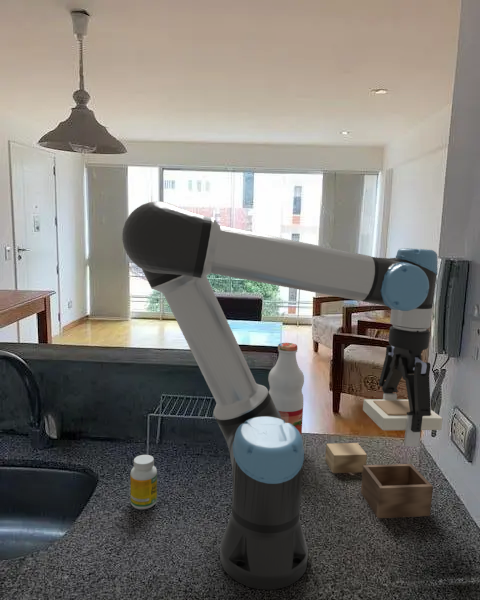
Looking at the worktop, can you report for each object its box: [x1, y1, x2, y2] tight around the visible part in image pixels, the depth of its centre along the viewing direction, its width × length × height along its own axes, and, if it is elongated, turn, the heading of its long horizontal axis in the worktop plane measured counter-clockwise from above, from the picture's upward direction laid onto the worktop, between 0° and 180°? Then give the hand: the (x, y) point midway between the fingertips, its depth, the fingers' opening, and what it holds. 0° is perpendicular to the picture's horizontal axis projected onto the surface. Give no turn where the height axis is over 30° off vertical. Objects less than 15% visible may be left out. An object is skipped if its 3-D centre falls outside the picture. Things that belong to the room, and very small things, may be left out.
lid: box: [362, 398, 443, 431], centre depth 94 cm, size 12×10×3 cm
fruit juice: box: [267, 342, 305, 437], centre depth 119 cm, size 9×9×28 cm
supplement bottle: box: [129, 454, 158, 510], centre depth 95 cm, size 5×5×10 cm
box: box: [360, 463, 434, 519], centre depth 97 cm, size 11×9×7 cm
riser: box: [324, 442, 368, 474], centre depth 112 cm, size 8×6×5 cm
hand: (398, 433), depth 95 cm, fingers closed on lid, 10 cm apart
